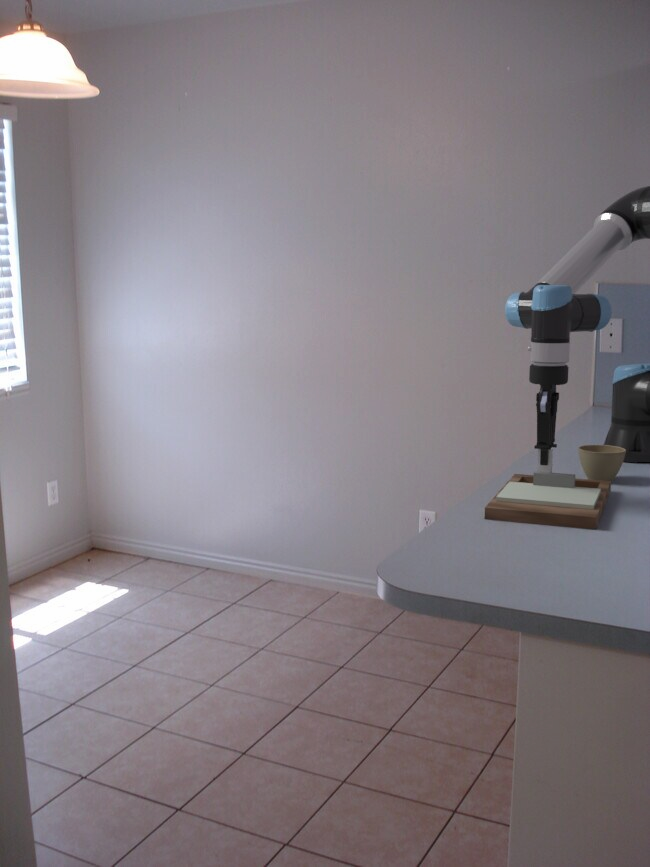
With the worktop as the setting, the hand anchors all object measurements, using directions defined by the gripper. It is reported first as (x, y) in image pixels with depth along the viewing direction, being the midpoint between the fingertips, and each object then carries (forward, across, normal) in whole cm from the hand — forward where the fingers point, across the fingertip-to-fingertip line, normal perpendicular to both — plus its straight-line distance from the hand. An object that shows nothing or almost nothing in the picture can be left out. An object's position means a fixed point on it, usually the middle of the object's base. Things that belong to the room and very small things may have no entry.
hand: (544, 479), depth 192 cm
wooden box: (+4, +5, +2) cm, 6 cm away
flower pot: (+4, -21, +9) cm, 23 cm away
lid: (+2, +8, +2) cm, 8 cm away
